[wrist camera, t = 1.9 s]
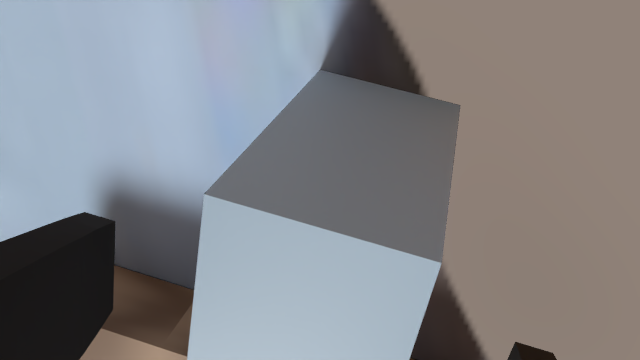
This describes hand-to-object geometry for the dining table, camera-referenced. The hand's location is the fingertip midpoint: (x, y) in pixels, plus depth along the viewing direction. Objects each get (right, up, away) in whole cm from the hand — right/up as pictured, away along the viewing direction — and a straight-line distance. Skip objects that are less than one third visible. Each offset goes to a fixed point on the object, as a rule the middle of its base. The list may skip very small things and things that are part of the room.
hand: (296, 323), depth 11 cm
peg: (+2, +3, +7) cm, 8 cm away
